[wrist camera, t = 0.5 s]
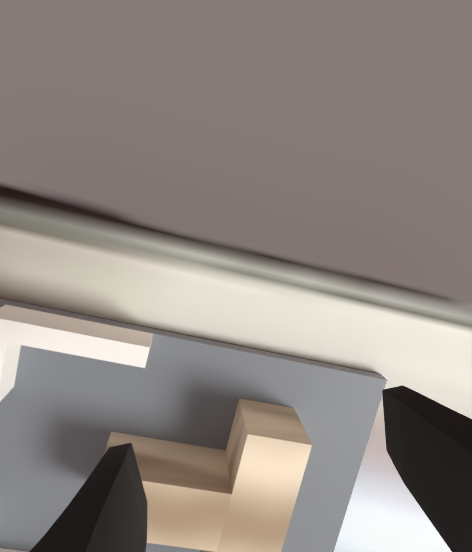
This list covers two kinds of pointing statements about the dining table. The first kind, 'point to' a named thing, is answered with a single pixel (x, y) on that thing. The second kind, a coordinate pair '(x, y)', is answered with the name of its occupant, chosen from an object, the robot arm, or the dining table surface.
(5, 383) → the dock
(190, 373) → the board
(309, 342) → the dining table surface
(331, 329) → the dining table surface
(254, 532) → the t block
